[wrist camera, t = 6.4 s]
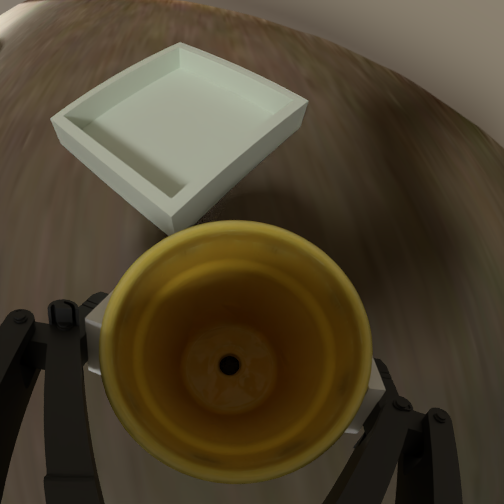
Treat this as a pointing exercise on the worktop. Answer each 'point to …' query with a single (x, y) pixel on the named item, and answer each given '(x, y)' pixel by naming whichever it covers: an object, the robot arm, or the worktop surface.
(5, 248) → the worktop surface
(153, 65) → the tray
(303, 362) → the plant pot
